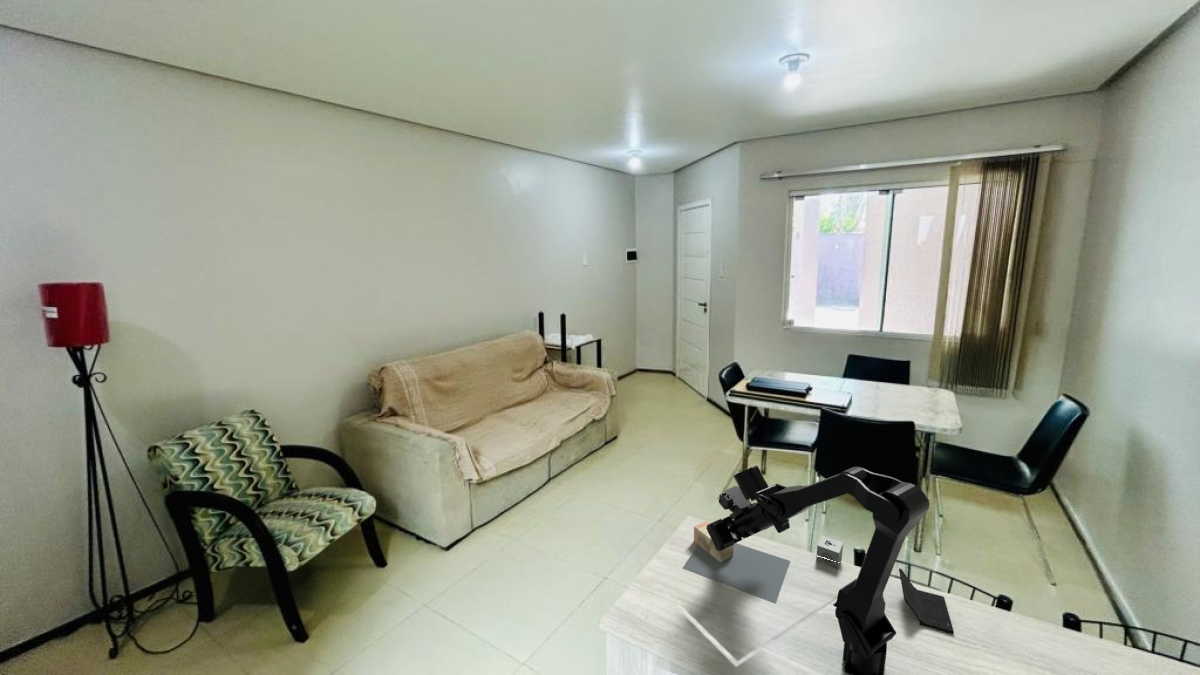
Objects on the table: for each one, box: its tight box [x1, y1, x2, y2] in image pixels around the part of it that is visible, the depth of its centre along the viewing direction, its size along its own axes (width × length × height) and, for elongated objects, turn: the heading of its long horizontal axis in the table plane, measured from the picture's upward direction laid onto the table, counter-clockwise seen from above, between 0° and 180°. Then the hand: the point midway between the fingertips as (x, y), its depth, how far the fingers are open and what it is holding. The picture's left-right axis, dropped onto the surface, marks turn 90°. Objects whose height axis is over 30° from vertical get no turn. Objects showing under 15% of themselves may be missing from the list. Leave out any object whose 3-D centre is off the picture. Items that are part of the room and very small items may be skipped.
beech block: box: [693, 520, 734, 562], centre depth 123 cm, size 4×4×10 cm
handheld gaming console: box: [898, 567, 955, 635], centre depth 103 cm, size 12×7×10 cm
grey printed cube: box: [815, 535, 844, 571], centre depth 119 cm, size 5×5×5 cm
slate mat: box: [682, 542, 791, 604], centre depth 118 cm, size 22×16×1 cm
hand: (723, 533), depth 120 cm, fingers closed
